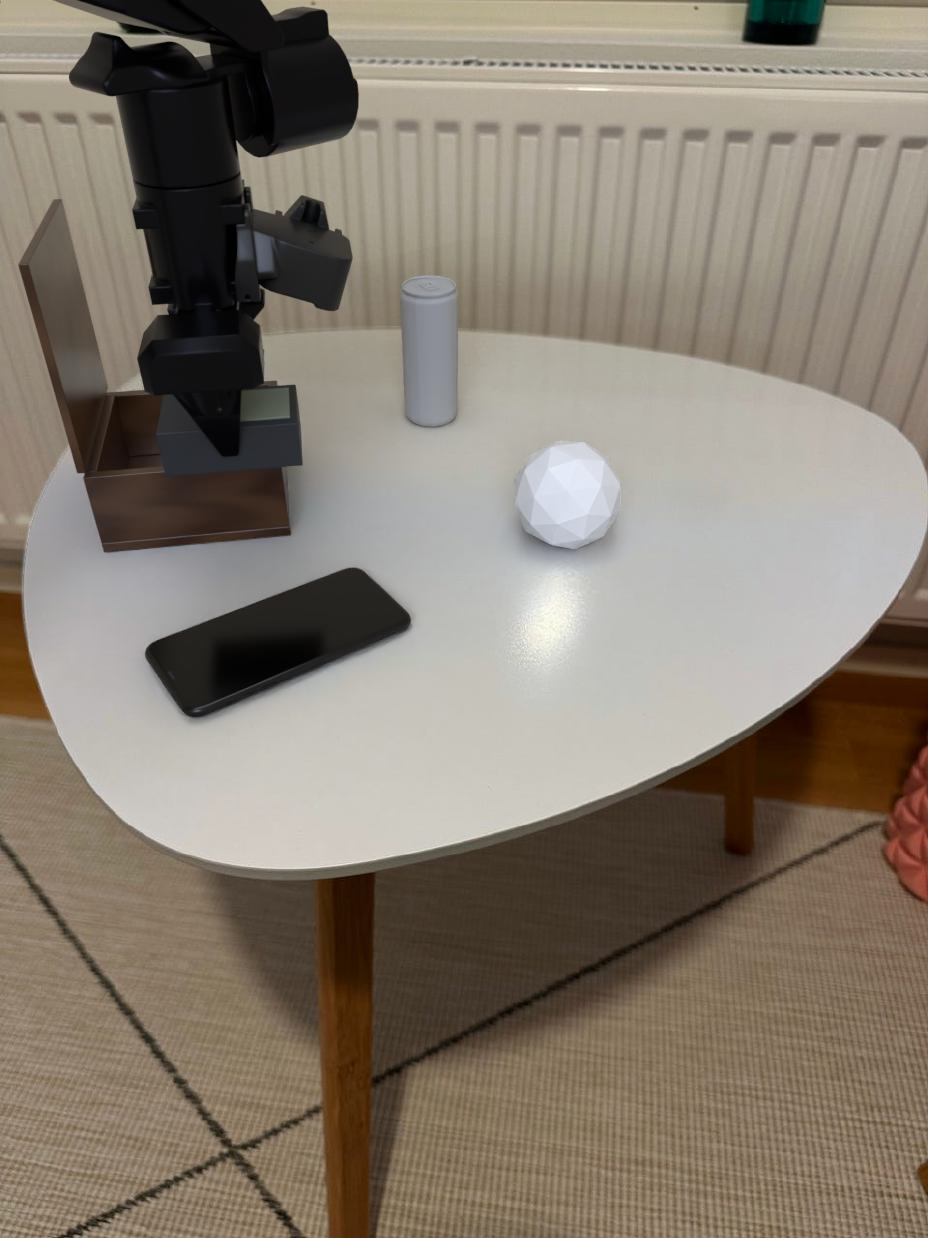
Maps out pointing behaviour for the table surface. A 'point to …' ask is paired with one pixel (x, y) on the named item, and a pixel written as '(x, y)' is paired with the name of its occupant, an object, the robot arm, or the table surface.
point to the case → (172, 487)
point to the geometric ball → (567, 494)
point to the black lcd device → (263, 435)
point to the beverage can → (430, 349)
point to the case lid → (65, 330)
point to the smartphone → (274, 640)
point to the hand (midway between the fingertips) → (231, 433)
